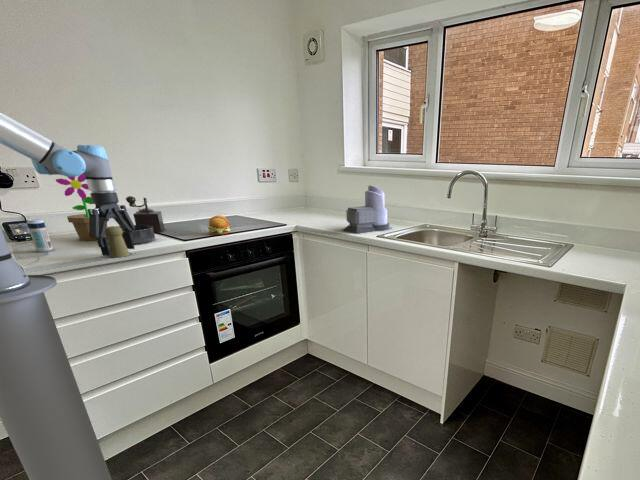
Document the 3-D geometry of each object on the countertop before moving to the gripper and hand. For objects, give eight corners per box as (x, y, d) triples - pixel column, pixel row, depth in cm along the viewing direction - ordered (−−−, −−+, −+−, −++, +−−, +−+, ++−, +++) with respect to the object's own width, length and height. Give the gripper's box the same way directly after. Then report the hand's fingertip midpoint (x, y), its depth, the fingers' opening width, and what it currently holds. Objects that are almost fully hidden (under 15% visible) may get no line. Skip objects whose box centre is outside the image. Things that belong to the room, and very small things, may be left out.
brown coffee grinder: (140, 229, 182) (131, 193, 175) (165, 228, 186) (157, 193, 180) (133, 235, 169) (123, 196, 162) (159, 234, 173) (151, 196, 167)
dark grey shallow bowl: (135, 246, 148) (132, 232, 146) (97, 244, 149) (93, 230, 147) (164, 238, 164) (161, 225, 162) (129, 237, 165) (126, 224, 163)
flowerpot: (69, 242, 151) (45, 168, 140) (79, 236, 162) (58, 167, 151) (110, 240, 157) (91, 169, 146) (117, 234, 169) (99, 168, 158)
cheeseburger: (226, 230, 186) (225, 212, 181) (234, 238, 181) (233, 220, 176) (205, 232, 180) (204, 213, 175) (213, 240, 174) (212, 221, 169)
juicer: (377, 224, 220) (377, 184, 211) (396, 228, 210) (397, 185, 202) (340, 230, 199) (339, 185, 190) (359, 234, 189) (358, 187, 180)
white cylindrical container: (51, 248, 140) (41, 218, 136) (55, 250, 138) (44, 220, 133) (35, 250, 137) (24, 219, 132) (38, 252, 134) (27, 221, 130)
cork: (116, 253, 137) (109, 225, 133) (133, 253, 138) (126, 225, 133) (106, 257, 131) (98, 228, 127) (123, 257, 132) (116, 228, 128)
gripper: (119, 189, 137) (133, 245, 145) (62, 194, 115) (82, 259, 123) (137, 190, 136) (150, 245, 144) (83, 194, 115) (102, 260, 123)
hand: (119, 251), depth 134 cm, fingers open, 10 cm apart
